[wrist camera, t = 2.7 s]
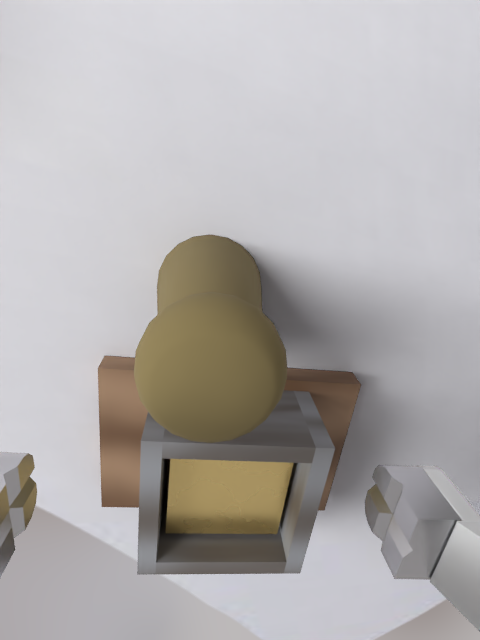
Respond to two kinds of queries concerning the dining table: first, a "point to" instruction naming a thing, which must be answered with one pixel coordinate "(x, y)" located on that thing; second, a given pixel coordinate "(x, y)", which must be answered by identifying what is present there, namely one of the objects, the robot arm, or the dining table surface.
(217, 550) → the holder
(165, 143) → the dining table surface
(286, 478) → the spring seat
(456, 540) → the robot arm
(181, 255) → the tan rounded piece
